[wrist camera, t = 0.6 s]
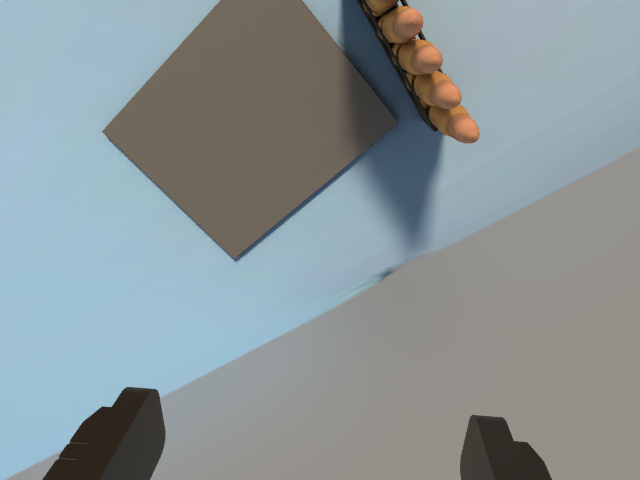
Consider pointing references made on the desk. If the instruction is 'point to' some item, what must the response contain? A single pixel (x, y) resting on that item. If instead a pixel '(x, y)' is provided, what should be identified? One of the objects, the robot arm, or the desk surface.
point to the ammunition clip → (420, 68)
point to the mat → (250, 118)
